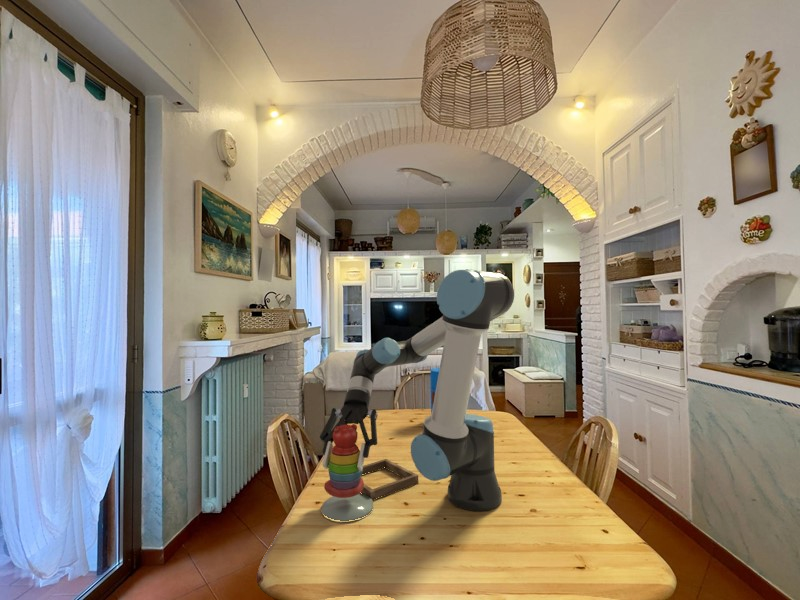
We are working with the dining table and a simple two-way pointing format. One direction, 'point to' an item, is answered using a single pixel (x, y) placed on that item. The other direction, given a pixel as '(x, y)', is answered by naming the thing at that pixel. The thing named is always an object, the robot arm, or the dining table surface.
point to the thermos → (433, 384)
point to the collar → (407, 481)
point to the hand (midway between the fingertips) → (342, 467)
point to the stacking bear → (344, 464)
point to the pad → (347, 507)
